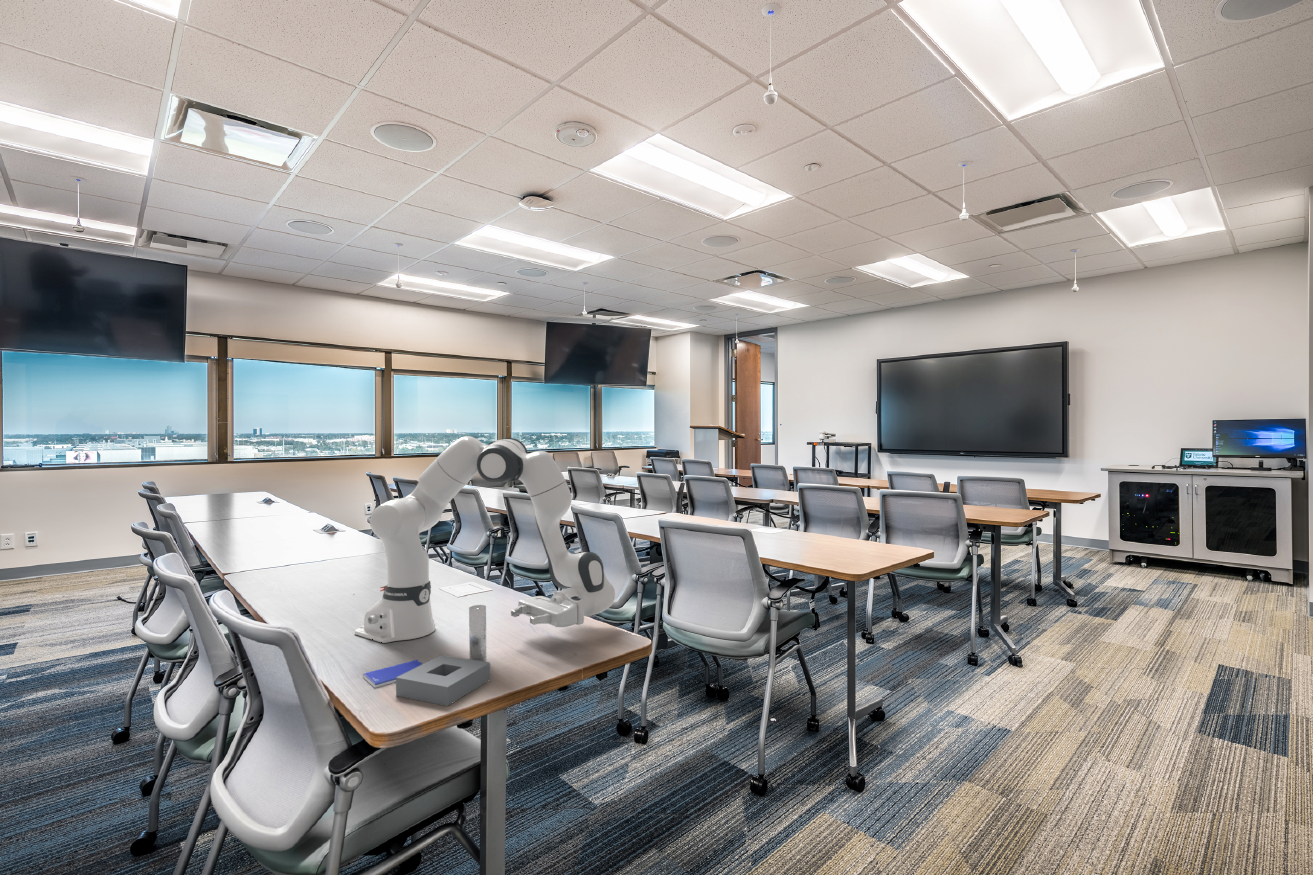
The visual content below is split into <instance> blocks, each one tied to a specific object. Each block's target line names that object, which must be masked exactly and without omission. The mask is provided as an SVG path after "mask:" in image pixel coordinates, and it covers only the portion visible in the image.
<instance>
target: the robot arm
mask: <svg viewBox="0 0 1313 875" xmlns="http://www.w3.org/2000/svg"><path fill="white" fill-rule="evenodd" d="M477 474H479V476H480V477H481V478H482V479H483V480H485V481H486V482H489V483H495V484H496V483H497V484H501V483H511V482H518V480H519V481H520V482H521V483H522V484H523V486H524V487H525V489H526V492H527V494H528V497H529V498H530V501H531V504H532V506H533V510H534V512H535V514H534V515H535V523H536V524H535V525H536V527H537V531H538V533H539V534H538V535H539V537H540V540H541V543H542V546H543V549H544V551H545V554H546V557H547V562H548V572H549V577H550V580H551V581H552V583H553V584H554V585H555V586H556V587H557V588H559V589H561V590H558V591H557V590H556V591H554V593H553V595H552V596H551V598H549V597H546V596H543V595H537V596H530V597H525V598H520V599H519V600H518V606H517V607H516V608H512V609H510V616H511V617H513V618H517V617H520V615H524V616H527V617H529V623H530V624H531V625H541V624H549V625H551V626H553V627H555V628H566V627H570V626H575V625H576V626H577V625H578V626H580V625H584V624H585V622H584V621H585V617H591V616H594V615H597V614H600V613H602V612H605V611H607V610H608V609H609V608H610V607H612V605H613V604H614V602H615V599H616V592H615V588H614V586H613V583H612V582H610V581H609V579H608V578H607V576H606V573H605V571H604V570H605V568H604V563H603V560H602V559H601V557H600V556H599V555H598V553H596V552H593V551H587V552H585V551H584V552H579V553H572V552H570V551H569V550H568V548H567V546H566V543H565V540H564V537H563V534H562V531H561V527H560V526H561V525H560V523H561V519H562V517H564V515H566V514H567V512H568V511H569V509H570V507H571V504H572V500H573V499H572V493H571V491H570V487H569V485H568V483H567V480H566V478H565V477H564V474H563V472H562V470H561V468H560V467H559V465H558V463H556V461H555V459H554V458H553V456H552V455H551V454H550V453H549V452H547V451H545V450H538V451H537V450H535V451H532V452H530V453H529V452H528V449H527V447H526V445H525V444H524V443H523V442H522V441H521V440H519V439H517V438H513V437H504V438H501V439H498V440H494V441H490V442H489V443H487V444H484V443H483V442H481V441H480V439H477V438H476V437H473V436H469V435H465V436H462V437H460V438H459V439H457V440H456V441H454V442H452V444H449V446H448V447H446V449H444V450H443V451H442V452H441V453H440V454H439V455H438V456H437V457H436V458H435V459H434V460H433V461H432V462H431V463H430V464H429V466H428V467H427V468H426V469H424V470H423V472H422V473H420V474H419V476H418V483H417V484H416V486H415V488H414V490H413V491H412V492H411V493H409V494H408V495H406V496H404V497H401V498H400V497H399V498H395V499H391V500H388V501H385V502H383V503H382V504H380V505H378V506H377V507H375V508H374V510H372V512H371V514H370V518H369V525H370V529H371V531H372V532H373V534H374V535H375V536H376V537H377V538H379V540H380V541H381V544H382V546H383V550H384V553H385V557H386V571H387V572H386V577H387V580H386V581H387V583H386V585H384V586H381V587H380V590H379V591H380V592H382V593H383V594H382V597H381V598H380V599H379V600H378V601H377V602H376V603H374V604H373V605H372V606H370V607H369V608H368V609H367V610H366V611H365V614H364V619H363V625H361V626H359V627H357V628H356V629H355V630H354V635H356V636H360V637H362V638H366V639H369V640H372V639H373V640H372V641H375V642H378V643H381V642H382V644H387V643H391V642H398V641H406V640H407V641H408V640H413V639H414V640H415V639H418V638H422V637H426V636H427V635H430V634H432V633H434V632H435V630H436V626H435V619H434V617H433V611H432V610H433V609H432V603H431V598H430V597H431V594H432V593H431V592H432V590H431V589H432V584H431V580H430V568H429V567H430V559H429V558H430V556H429V554H428V552H427V550H425V549H424V547H423V546H422V541H421V538H420V533H423V532H426V531H428V530H430V529H431V528H432V527H434V526H435V525H437V524H438V523H439V521H440V520H441V518H442V515H443V513H444V511H445V510H446V508H447V507H448V504H449V503H450V502H451V501H452V500H453V499H454V498H455V497H456V495H458V494H459V492H460V491H461V490H462V489H463V488H465V486H466V485H467V484H468V483H469V482H470V481H471V480H472V479H473V478H474V477H475V476H476V475H477Z"/></svg>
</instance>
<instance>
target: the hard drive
mask: <svg viewBox="0 0 1313 875" xmlns="http://www.w3.org/2000/svg"><path fill="white" fill-rule="evenodd" d="M422 664H423V663H422V662H421V661H419V660H418V659H414V660H411V661H406V662H403V663H399V664H395V665H392V666H387V667H384V668H380V669H376V670H372V671H368V672H365V673H363V674H362V678H363V679H364V680H366V682H367V683H369V684H370V685H371V686H372V687H373V688H375V689H376V688H379V687H383V686H387V685H389V684H394V683H396V677H398V676H400V675H402V674H404V673H406V672H408V671H410V670H412V669H414V668H416V667H418V666H420V665H422Z"/></svg>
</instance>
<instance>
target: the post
mask: <svg viewBox="0 0 1313 875" xmlns="http://www.w3.org/2000/svg"><path fill="white" fill-rule="evenodd" d="M468 614H469V616H468V618H469V620H468V621H469V622H468V626H469V633H468V634H469V638H468V639H469V642H468V643H469V659H470V660H477V661H483V662H488V661H487V606H486V605H484V604H475V605H472V606H470V607H469V608H468Z"/></svg>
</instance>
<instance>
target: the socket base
mask: <svg viewBox="0 0 1313 875" xmlns="http://www.w3.org/2000/svg"><path fill="white" fill-rule="evenodd" d="M489 681H491V663H490V662H488V661H487V662H483V661H477V660H470V658H463V657H457V656H451V655H444V654H441V655H439V656H437V657H434V658H432V659H431V660H429V661H426V662H424V663H422V665H420V666H418V667H416V668H414V669H412V670H410V671H408V672H406V673H404V674H402V675H400V676H398V677H396V682H395V686H396V687H395V691H396V694H395V696H396V697H399V698H406V699H410V700H415V701H420V702H424V703H430V704H435V705H439V706H440V705H441V706H444V705H447V706H446V707H448V705H449V706H451V705H452V704H453V703H452V702H454V701H455V702H457V701H459V700H460V699H461V698H460V697H462V696H464V695H465V696H466V694H467V695H468V694H470V693H471V692H470V691H472V692H473V691H474V689H475V690H477V689H478V688H480V687H481V686H483V685H485V684H486V683H488V682H489ZM484 683H485V684H484ZM482 684H483V685H482ZM479 686H480V687H479ZM469 692H470V693H469ZM465 696H464V697H465ZM462 698H463V697H462ZM458 699H459V700H458ZM456 700H457V701H456ZM455 702H454V703H455ZM451 703H452V704H451ZM450 704H451V705H450Z"/></svg>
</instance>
